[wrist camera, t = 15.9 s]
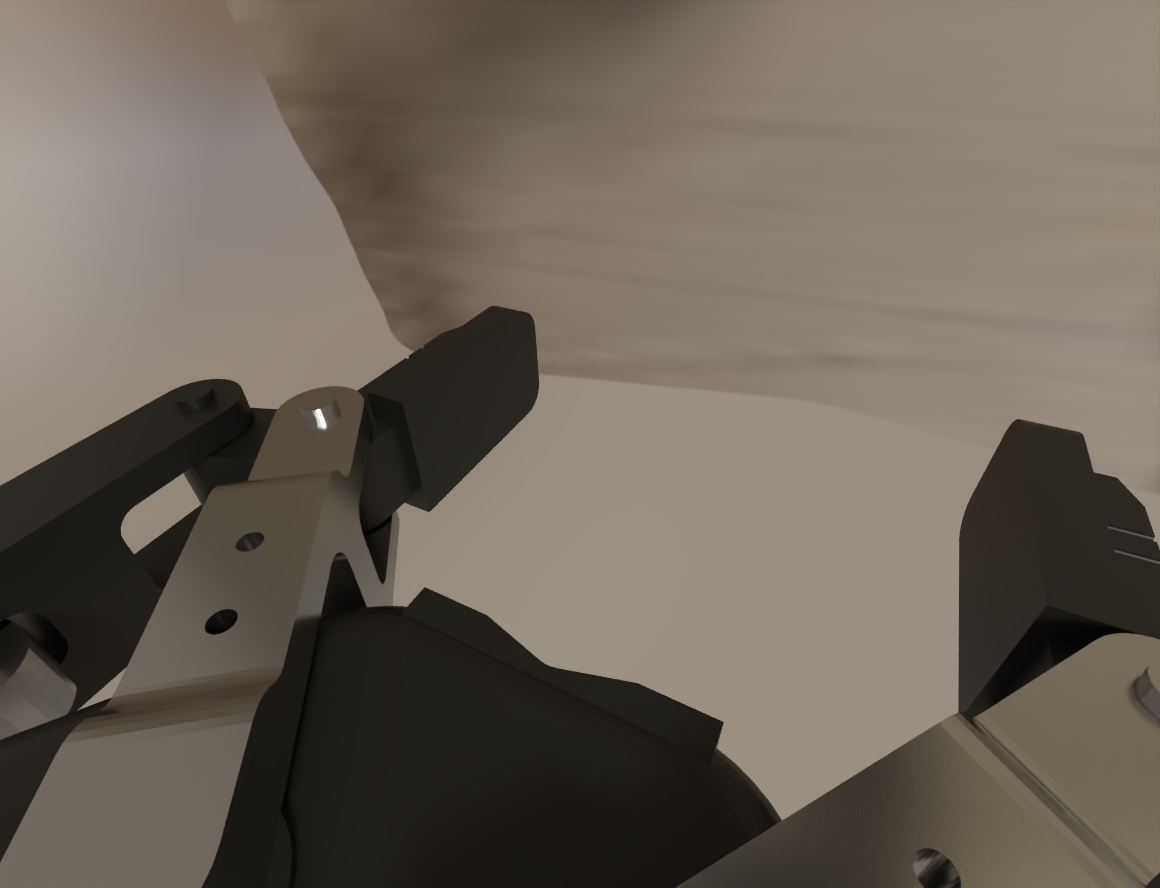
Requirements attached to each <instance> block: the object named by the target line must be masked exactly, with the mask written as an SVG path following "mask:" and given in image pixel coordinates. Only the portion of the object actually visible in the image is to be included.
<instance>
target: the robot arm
mask: <svg viewBox="0 0 1160 888" xmlns="http://www.w3.org/2000/svg"><path fill="white" fill-rule="evenodd" d="M538 389H539V375H538V361H537V348H536V334H535V324H534V320H533V318H532V316H531V315H530V314H529V313H527V312H522V311H517V310H513V309H508V308H503V307H499V306H491V307H489V308H487V309H486V310H484V311H483V312H482V313H480V314H479V315H477V316H476V317H474V318H473V319H471V320H470V321H469V322H467V323H466V324H464V325H463V326H461V327H458V328H455V329H453V330H450V331H447V332H444V333H442V334H440V335H439V336H437V337H436V338H434V339H433V340H431V341H430V342H428V343H427V344H426V345H424V348H423V349H422V348H420V349H418V350H417V351H415V352H414V353H412V354H411V355H409V359H406V358H405V359H404V360H402V361H401V362H399V363H398V364H396V365H395V366H393V367H392V368H390V369H389V370H387V371H386V372H384V373H383V374H381V375H380V376H378V377H377V378H376V379H374V380H373V381H371V382H370V383H368V384H367V385H365V386H364V387H363V388H361V389H359V390H358V391H356V390H354V389H351V388H347V387H339V386H332V387H322V388H317V389H312V390H309V391H306V392H303V393H301V394H298V395H296V396H294V397H292V398H291V399H289V400H287V401H286V402H285V403H283V404H282V405H281V406H280V407H279V408H278V409H262V408H250V406H249V404H248V401H247V399H246V397H245V395H244V392H243V390H242V388H241V386H240V385H239V384H238V383H236V382H234V381H231V380H226V379H209V380H202V381H197V382H193V383H190V384H186V385H184V386H181V387H178V388H176V389H174V390H172V391H170V392H168V393H166V394H164V395H162V396H161V397H159V398H157V399H155V400H153V401H152V402H150V403H148V404H146V405H144V406H143V407H141V408H139V409H137V410H135V411H134V412H132V413H130V414H128V415H127V416H125V417H123V418H121V419H119V420H118V421H116V422H114V423H112V424H110V425H109V426H107V427H105V428H103V429H101V430H100V431H98V432H96V433H94V434H93V435H91V436H89V437H87V438H85V439H83V440H82V441H80V442H78V443H76V444H74V445H73V446H71V447H69V448H67V449H65V450H64V451H62V452H60V453H58V454H56V455H55V456H53V457H51V458H49V459H48V460H46V461H44V462H42V463H40V464H39V465H37V466H35V467H33V468H31V469H30V470H28V471H26V472H24V473H22V474H21V475H19V476H17V477H15V478H14V479H12V480H10V481H8V482H6V483H4V484H3V485H1V486H0V888H1160V550H1159V547H1158V544H1157V542H1154V541H1153V539H1154V537H1155V535H1154V532H1153V529H1152V527H1151V524H1150V521H1149V518H1148V515H1147V512H1146V509H1145V507H1144V506H1143V505H1142V504H1141V503H1140V502H1139V501H1138V500H1137V498H1136V497H1135V496H1133V494H1132V493H1131V492H1130V491H1129V490H1128V489H1127V488H1126V487H1125V486H1124V485H1123V484H1122V483H1121V482H1120V481H1119V480H1118V478H1116V477H1111V476H1107V475H1103V474H1099V473H1094V472H1093V469H1092V465H1091V461H1090V457H1089V454H1088V450H1087V446H1086V442H1085V439H1084V436H1083V434H1082V433H1080V432H1076V431H1072V430H1067V429H1062V428H1058V427H1053V426H1048V425H1044V424H1039V423H1034V422H1030V421H1025V420H1020V419H1017V420H1015V421H1014V422H1013V423H1012V424H1011V425H1010V426H1009V428H1008V429H1007V431H1006V433H1005V434H1004V436H1003V438H1002V440H1001V442H1000V444H999V446H998V447H997V449H996V451H995V453H994V455H993V457H992V459H991V461H990V462H989V465H988V466H987V468H986V470H985V472H984V474H983V476H982V478H981V479H980V481H979V483H978V485H977V487H976V489H975V491H974V492H973V495H972V496H971V498H970V501H969V503H968V505H967V508H966V510H965V513H964V516H963V520H962V524H961V529H960V537H959V710H958V713H957V714H954V715H952V716H950V717H948V718H946V719H944V720H943V721H941V722H939V723H938V724H936V725H934V726H933V727H931V728H930V729H928V730H926V731H925V732H923V733H922V734H920V735H918V736H917V737H915V738H914V739H912V740H911V741H909V742H907V743H906V744H904V745H902V746H901V747H899V748H898V749H896V750H894V751H893V752H891V753H890V754H888V755H887V756H885V757H883V758H882V759H880V760H878V761H877V762H875V763H874V764H872V765H870V766H869V767H867V768H866V769H864V770H862V771H861V772H859V773H858V774H856V775H854V776H853V777H851V778H850V779H848V780H846V781H845V782H843V783H842V784H840V785H839V786H837V787H835V788H834V789H832V790H831V791H829V792H827V793H826V794H824V795H823V796H821V797H819V798H818V799H816V800H815V801H813V802H811V803H810V804H808V805H807V806H805V807H804V808H802V809H800V810H799V811H797V812H795V813H794V814H792V815H791V816H789V817H787V818H786V819H784V820H783V821H782V820H781V818H780V817H779V815H778V814H777V812H776V810H775V809H774V807H773V806H772V804H771V803H770V802H769V800H768V799H767V798H766V797H765V795H764V794H763V793H762V792H761V791H760V789H759V788H758V787H757V786H756V784H755V783H754V782H753V781H752V780H751V779H750V778H749V777H748V776H747V775H746V774H745V773H744V772H743V771H742V770H741V769H740V768H739V767H738V766H737V765H736V764H735V763H734V762H733V761H732V760H730V759H729V758H728V757H727V756H725V755H724V754H723V753H722V752H721V751H719V750H718V749H717V745H718V742H719V738H720V734H721V730H722V726H723V723H724V722H722V721H720V720H718V719H716V718H713V717H711V716H709V715H707V714H705V713H702V712H700V711H698V710H696V709H693V708H691V707H689V706H687V705H685V704H682V703H680V702H678V701H676V700H673V699H671V698H669V697H667V696H665V695H662V694H660V693H658V692H656V691H654V690H651V689H649V688H647V687H645V686H642V685H640V684H638V683H633V682H628V681H622V680H617V679H612V678H607V677H601V676H596V675H590V674H585V673H580V672H575V671H569V670H564V669H558V668H554V667H550V666H548V665H546V664H544V663H543V662H541V661H540V660H539V659H538V658H536V657H535V656H534V655H533V654H532V653H531V652H529V651H528V650H527V649H526V648H525V647H524V646H522V645H521V644H520V643H519V642H518V641H516V640H515V639H514V638H513V637H512V636H511V635H509V634H508V633H507V632H506V631H505V630H503V629H502V628H501V627H500V626H499V625H498V624H497V623H495V622H494V621H493V620H492V619H491V618H489V617H488V616H487V615H485V614H483V613H480V612H478V611H476V610H474V609H472V608H470V607H467V606H465V605H463V604H461V603H458V602H456V601H454V600H452V599H450V598H447V597H445V596H443V595H441V594H439V593H436V592H434V591H432V590H430V589H428V588H425V587H424V589H423V590H422V591H421V592H420V593H419V594H418V595H417V596H416V598H415V599H414V600H413V601H412V602H411V603H410V604H409V606H408V607H403V606H393V589H394V578H395V567H396V556H397V545H398V535H399V517H398V514H397V509H398V508H399V507H400V506H401V505H402V504H403V503H407V504H410V505H412V506H415V507H418V508H420V509H422V510H425V511H428V512H430V511H431V510H432V509H433V508H434V507H435V506H436V505H437V504H438V503H439V502H440V501H441V500H442V499H443V498H444V497H445V496H446V495H447V494H448V493H449V492H450V491H451V490H452V489H453V488H454V487H455V486H456V485H457V484H458V483H459V482H460V481H461V480H462V479H463V478H464V477H465V476H466V475H467V474H468V473H469V472H470V471H471V470H472V469H473V468H474V467H475V466H476V465H477V464H478V463H479V462H480V461H481V460H482V459H483V458H484V457H485V456H486V455H487V454H488V453H489V452H490V451H491V450H492V449H493V448H494V447H495V446H496V445H497V444H498V443H499V442H500V441H501V440H502V439H503V438H504V437H505V436H506V435H507V434H508V433H509V432H510V431H511V430H512V429H513V428H514V427H515V426H516V425H517V424H518V423H519V422H520V421H521V420H522V419H523V418H524V417H525V416H526V415H527V414H528V413H529V412H530V410H531V409H532V407H533V406H534V404H535V401H536V399H537V395H538ZM182 473H184V475H185V477H186V478H187V480H188V482H189V483H190V485H191V487H192V489H193V491H194V492H195V494H196V495H197V498H198V499H199V501H200V503H201V505H200V506H199V507H198V508H196V509H195V510H194V511H192V512H191V513H189V514H188V515H187V516H185V517H184V518H183V519H182V520H180V521H179V522H177V523H176V524H175V525H173V526H172V527H171V528H169V529H168V530H167V531H165V532H164V533H163V534H161V535H160V536H159V537H158V538H156V539H154V540H153V541H152V542H150V543H149V544H148V545H146V546H145V547H144V548H142V549H141V550H140V551H138V552H137V553H136V554H133V552H132V551H131V550H130V548H129V547H128V546H127V544H126V543H125V541H124V540H123V538H122V536H121V524H122V521H123V519H124V517H125V515H126V514H127V513H128V512H129V511H130V510H131V509H132V508H133V507H134V506H135V505H137V504H138V503H140V502H141V501H143V500H144V499H146V498H147V497H149V496H150V495H152V494H153V493H155V492H156V491H157V490H159V489H160V488H162V487H163V486H165V485H166V484H168V483H169V482H171V481H172V480H174V479H175V478H176V477H178V476H180V475H181V474H182ZM7 618H8V619H7ZM126 667H127V668H126ZM125 668H126V670H125V672H124V674H123V677H122V679H121V681H120V683H119V685H118V687H117V689H116V691H115V693H114V695H113V697H112V698H109V699H107V700H104V701H101V702H99V703H96V704H93V705H91V706H88V707H85V708H83V709H80V710H78V709H79V708H80V707H82V706H83V705H84V704H85V703H86V702H87V701H88V700H89V699H91V698H92V697H93V696H94V695H95V694H96V693H97V692H99V690H101V689H102V688H103V687H104V686H105V685H106V684H108V683H109V682H110V681H111V680H112V679H113V678H115V677H116V676H117V675H118V674H119V673H120V672H121V671H122V670H123V669H125Z"/></svg>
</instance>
